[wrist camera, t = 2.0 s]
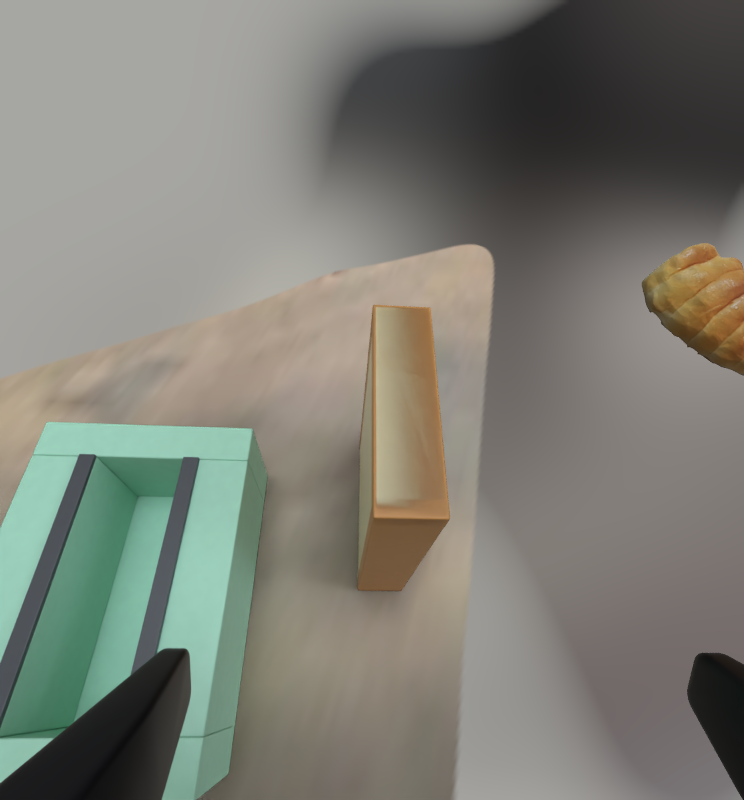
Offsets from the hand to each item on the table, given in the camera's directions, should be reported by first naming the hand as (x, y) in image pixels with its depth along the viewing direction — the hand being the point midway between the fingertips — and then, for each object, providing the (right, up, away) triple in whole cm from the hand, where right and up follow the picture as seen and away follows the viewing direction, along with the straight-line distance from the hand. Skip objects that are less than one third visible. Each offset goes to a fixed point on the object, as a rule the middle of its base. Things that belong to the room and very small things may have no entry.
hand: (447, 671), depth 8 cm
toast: (-1, -1, +15) cm, 15 cm away
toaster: (-11, -4, +12) cm, 17 cm away
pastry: (+21, +10, +24) cm, 34 cm away
